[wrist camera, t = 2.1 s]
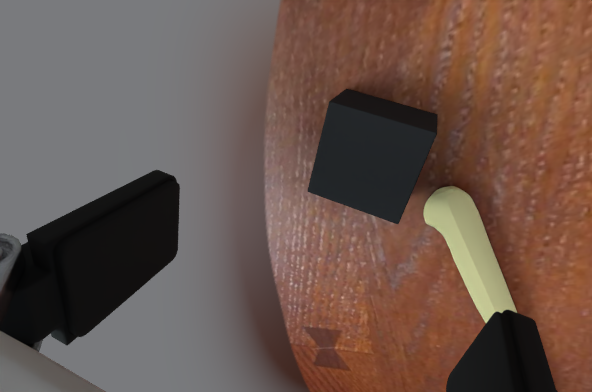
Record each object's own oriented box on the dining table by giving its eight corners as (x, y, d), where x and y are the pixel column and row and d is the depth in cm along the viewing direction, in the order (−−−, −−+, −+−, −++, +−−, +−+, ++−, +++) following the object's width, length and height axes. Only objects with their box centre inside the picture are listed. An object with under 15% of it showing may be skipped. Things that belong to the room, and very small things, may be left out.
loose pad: (325, 168, 22) (307, 191, 19) (346, 88, 19) (329, 101, 16) (404, 195, 20) (398, 224, 18) (437, 114, 18) (437, 133, 15)
